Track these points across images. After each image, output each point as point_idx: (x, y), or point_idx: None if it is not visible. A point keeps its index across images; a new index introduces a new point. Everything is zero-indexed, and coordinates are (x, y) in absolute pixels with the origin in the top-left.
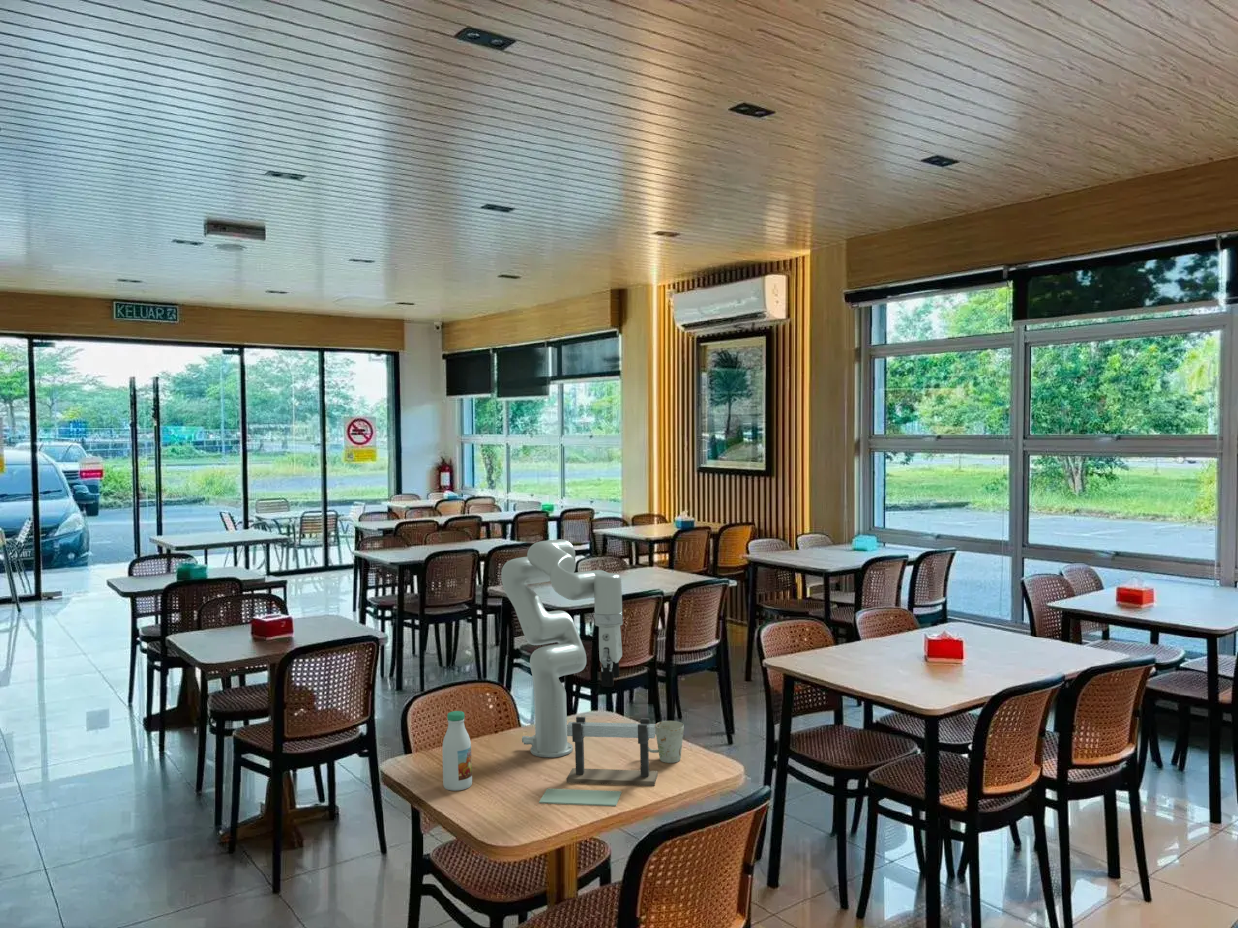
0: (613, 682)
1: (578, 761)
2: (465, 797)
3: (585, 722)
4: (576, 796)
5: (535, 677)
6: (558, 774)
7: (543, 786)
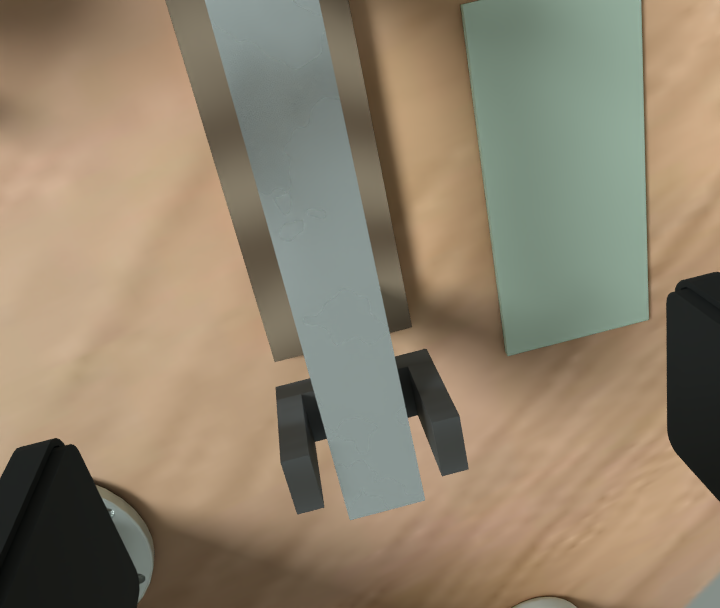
0: (715, 299)
1: None
2: (627, 560)
3: (327, 422)
4: (571, 198)
5: None
6: None
7: (471, 384)
